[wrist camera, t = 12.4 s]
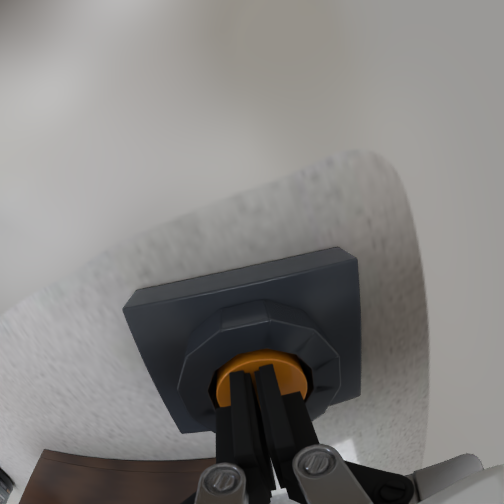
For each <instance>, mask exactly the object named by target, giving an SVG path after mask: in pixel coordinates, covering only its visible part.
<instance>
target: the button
mask: <svg viewBox="0 0 504 504" xmlns="http://www.w3.org/2000/svg"><path fill="white" fill-rule="evenodd" d="M269 364H273V367H274V370H275V374H276V378H277V381H278V385H279V389H280V392H281V395H285V394H290V393H294V392H297V391H300V392H301V394H302V397H303V400H304V398H305V396H306V393H307V380H306V377H305V375H304V372H303V370H302V367H301V365H300V362H299V360H298V358H297V356H296V355H295V354H290V353H285V352H280V351H276V350H271V349H262V350H258V351H253V352H248V353H243V354H238V355H236V356H235V357H234V358H232V359H231V360H230V361H228V362H227V363H226V364H224V365H223V366H222V367H220V368H219V369H217V381H216V396H217V401H218V403H219V405H220V407H226V406H231V400H230V380H229V373H231V372H236V371H241V370H244V373H250V375H251V379H252V382H253V386H254V389H255V393H256V397H257V400H258V404H259V407H260V403H259V398H258V392H257V386H256V380H255V375H254V371H259V367H260V366H265V365H269ZM260 411H261V409H260Z"/></svg>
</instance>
